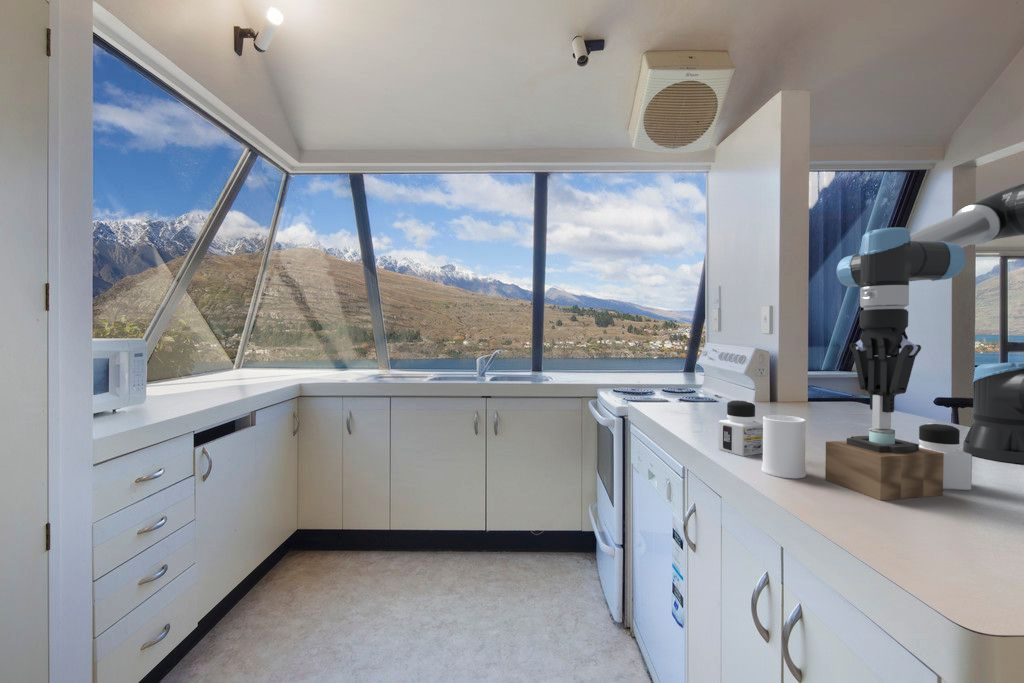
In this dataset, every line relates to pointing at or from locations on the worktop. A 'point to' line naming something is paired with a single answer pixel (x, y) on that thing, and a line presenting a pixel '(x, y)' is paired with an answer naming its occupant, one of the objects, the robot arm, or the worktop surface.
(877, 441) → the peg
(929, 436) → the medicine bottle
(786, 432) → the mug
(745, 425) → the container
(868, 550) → the worktop surface
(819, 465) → the worktop surface
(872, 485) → the socket block
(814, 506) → the worktop surface
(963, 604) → the worktop surface
